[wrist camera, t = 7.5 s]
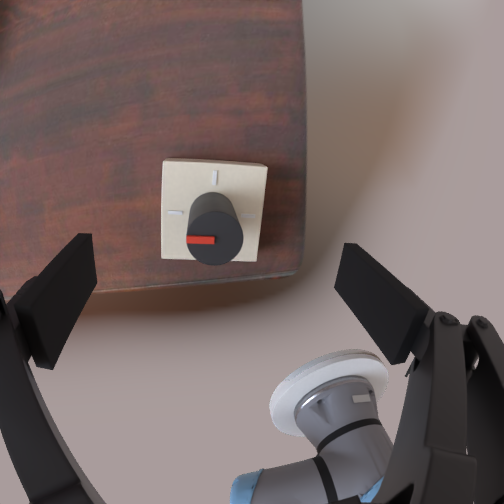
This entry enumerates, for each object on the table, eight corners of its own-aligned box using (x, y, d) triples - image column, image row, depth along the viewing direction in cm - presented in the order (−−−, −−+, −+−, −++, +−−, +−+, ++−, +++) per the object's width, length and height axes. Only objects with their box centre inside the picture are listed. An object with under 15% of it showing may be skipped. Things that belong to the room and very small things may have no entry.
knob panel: (252, 250, 35) (256, 262, 32) (164, 247, 33) (161, 259, 30) (261, 163, 31) (268, 167, 28) (166, 157, 29) (162, 161, 26)
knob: (236, 193, 29) (246, 214, 22) (232, 235, 30) (241, 268, 24) (190, 191, 28) (186, 211, 21) (188, 234, 29) (185, 266, 23)
